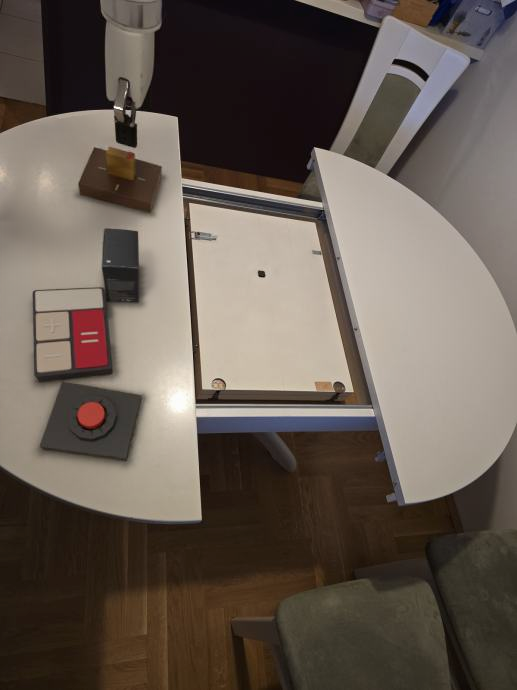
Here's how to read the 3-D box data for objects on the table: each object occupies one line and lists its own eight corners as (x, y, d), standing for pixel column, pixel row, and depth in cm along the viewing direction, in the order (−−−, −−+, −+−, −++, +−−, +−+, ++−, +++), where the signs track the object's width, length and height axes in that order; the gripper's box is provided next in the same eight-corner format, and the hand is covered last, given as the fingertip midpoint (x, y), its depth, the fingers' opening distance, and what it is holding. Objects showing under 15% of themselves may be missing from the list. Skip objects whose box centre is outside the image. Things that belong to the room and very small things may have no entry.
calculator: (32, 375, 58) (31, 287, 63) (39, 383, 61) (37, 300, 66) (111, 367, 61) (104, 284, 66) (113, 375, 65) (106, 296, 70)
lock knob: (108, 174, 78) (105, 151, 74) (110, 167, 79) (108, 145, 75) (133, 180, 79) (132, 159, 75) (135, 174, 80) (135, 152, 76)
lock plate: (80, 195, 78) (77, 182, 75) (95, 158, 83) (93, 146, 80) (150, 213, 81) (150, 202, 78) (161, 177, 86) (162, 165, 83)
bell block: (42, 449, 57) (36, 444, 54) (64, 386, 62) (59, 377, 58) (126, 461, 59) (125, 456, 56) (141, 399, 64) (141, 391, 61)
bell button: (75, 427, 56) (74, 424, 55) (83, 403, 58) (81, 399, 56) (101, 430, 57) (100, 428, 55) (108, 407, 59) (107, 404, 57)
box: (139, 303, 71) (138, 268, 62) (106, 302, 70) (100, 266, 60) (139, 267, 75) (139, 229, 65) (108, 266, 73) (103, 226, 64)
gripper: (118, -38, 53) (123, 87, 68) (80, 26, 45) (95, 153, 60) (174, -18, 54) (167, 101, 69) (146, 49, 46) (145, 167, 61)
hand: (134, 125), depth 64 cm, fingers open, 9 cm apart
